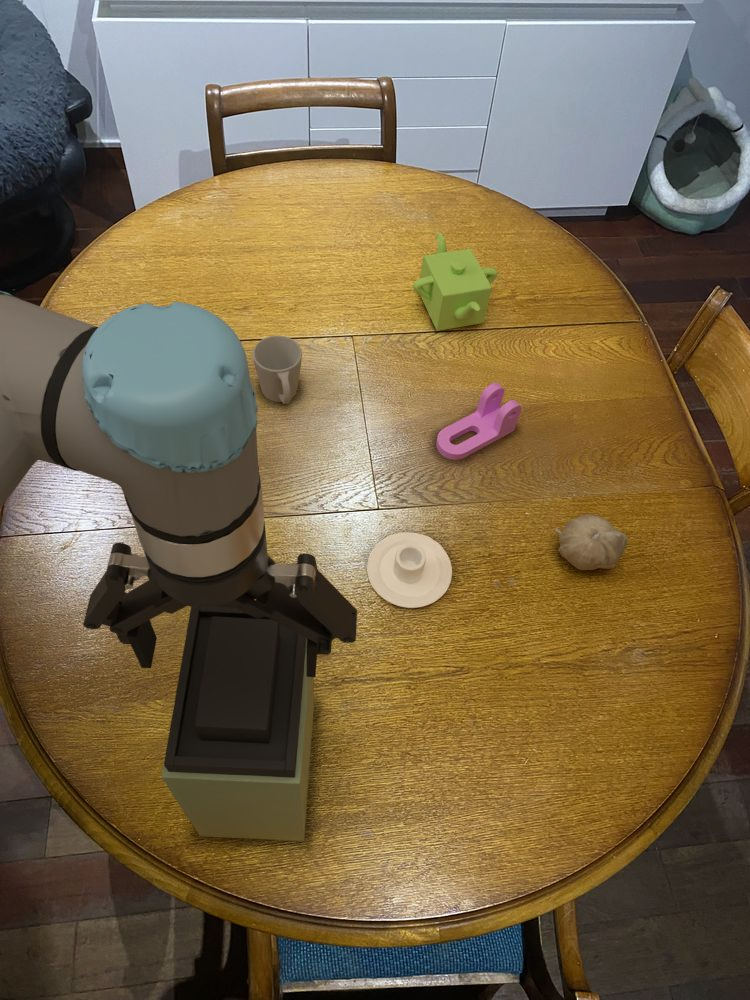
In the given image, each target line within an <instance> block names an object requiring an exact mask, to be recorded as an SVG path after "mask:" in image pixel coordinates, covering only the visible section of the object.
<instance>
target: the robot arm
mask: <svg viewBox="0 0 750 1000" xmlns="http://www.w3.org/2000/svg"><path fill="white" fill-rule="evenodd" d="M258 411H259V407H258V402H257V396H256V392H255V389H254V386H253V383H252V381H251V375H250V369H249V364H248V358H247V354H246V351H245V348H244V346H243V344H242V342H241V340H240V338H239V336H238V335H237V334H236V332H235V331H234V329H232V327H231V326H230V325H229V324H228V323H227V322H226V321H225V320H223V319H222V318H221V317H220V316H218V315H216V314H215V313H213V312H212V311H209V310H207V309H205V308H203V307H201V306H197V305H195V304H190V303H186V302H182V301H173V302H171V304H170V305H159V306H158V305H154V304H153V303H151V302H146V303H145V302H144V303H140V304H136V305H133V306H129V307H127V308H125V309H123V310H121V311H118V312H117V313H115V314H113V315H112V316H111V317H109V318H108V319H106V320H105V321H103V323H101V324H100V325H99V326H97V325H93V324H91V323H88V322H85V321H82V320H79V319H77V318H73V317H71V316H68V315H65V314H63V313H60V312H56V311H53V310H51V309H48V308H45V307H42V306H40V305H37V304H34V303H31V302H28V301H27V300H23V299H21V298H20V297H17V296H14V295H13V294H10V293H9V292H6V291H2V290H0V510H1V509H2V508H3V506H4V505H5V504H6V502H7V501H8V500H9V498H10V496H12V494H13V493H14V491H15V490H16V489H17V488H18V486H19V484H20V483H21V482H22V481H23V479H24V478H25V476H27V474H28V472H29V471H30V470H31V468H32V467H33V466H34V465H35V464H36V463H37V462H38V461H41V462H44V463H48V464H52V465H56V466H60V467H62V468H66V469H68V470H71V471H75V472H81V473H85V474H86V475H87V474H88V475H91V476H93V477H97V478H100V479H103V480H106V481H108V482H112V483H114V484H116V485H118V486H119V488H121V491H122V493H123V497H124V500H125V502H126V505H127V508H128V510H129V513H130V514H131V517H132V521H133V525H134V527H135V531H136V534H137V537H138V540H139V543H140V545H141V548H142V549H143V550H142V551H143V553H144V556H142V555H139V554H137V553H132V547H131V546H130V545H129V544H127V543H124V542H114V543H113V544H112V547H111V551H110V555H109V559H108V562H107V567H106V571H105V572H104V574H103V575H102V577H101V578H100V579H99V581H98V583H97V584H96V586H95V588H94V589H93V590H92V592H91V593H90V596H89V600H88V604H87V606H86V607H87V608H86V612H85V615H84V620H83V624H82V625H83V627H84V628H86V629H89V630H98V629H100V628H101V626H107V627H109V632H111V633H113V634H116V637H117V639H118V641H119V642H120V643H121V644H123V645H130V646H131V648H132V650H133V652H134V655H135V657H136V659H137V661H138V663H139V666H140V667H141V669H152V665H153V661H154V655H155V650H156V645H157V641H158V637H157V635H156V631H155V629H154V627H153V624H152V622H151V620H152V619H153V618H156V617H158V616H160V615H161V614H163V613H167V614H170V615H172V614H174V613H176V612H178V611H180V610H181V609H184V608H186V607H190V608H191V606H205V607H206V606H222V607H228V608H231V609H233V608H237V609H239V610H241V611H243V612H245V613H247V614H249V615H251V616H253V617H255V618H257V619H259V618H262V617H265V616H266V617H268V618H270V619H272V620H274V621H275V622H277V623H279V624H281V625H283V626H285V627H287V628H289V629H291V630H293V631H294V632H296V633H298V634H300V635H302V636H304V637H306V638H307V677H314V678H316V677H317V663H318V655H322V656H329V655H330V654H331V653H332V646H333V640H336V639H338V640H339V641H340V642H342V643H344V644H353V643H355V642H356V641H357V628H358V627H357V625H358V624H357V622H358V609H357V608H356V607H355V606H354V605H353V604H352V603H351V602H350V601H349V600H348V599H347V598H346V596H344V595H343V594H342V593H341V592H340V591H339V590H338V589H337V588H336V587H335V585H333V584H332V583H331V581H330V580H329V579H328V578H326V577H325V575H323V573H322V572H321V571H320V570H319V569H318V565H317V560H316V557H315V555H313V554H310V553H301V554H298V555H297V561H296V562H294V563H290V564H289V563H276V561H275V560H274V559H273V558H272V557H271V556H270V555H269V554H268V546H267V545H268V544H267V534H266V533H267V532H266V521H265V509H264V499H263V498H264V497H263V490H262V478H261V474H260V466H259V453H258V437H257V435H258V434H257V428H258V427H257V426H258V424H259V423H258V417H257V414H258ZM141 577H147V579H148V580H147V581H145V582H143V583H142V584H139V585H138V586H136V587H135V588H133V587H134V582H137V581H139V580H140V578H141ZM126 589H128V590H129V591H128V592H126ZM130 589H131V590H130Z"/></svg>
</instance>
